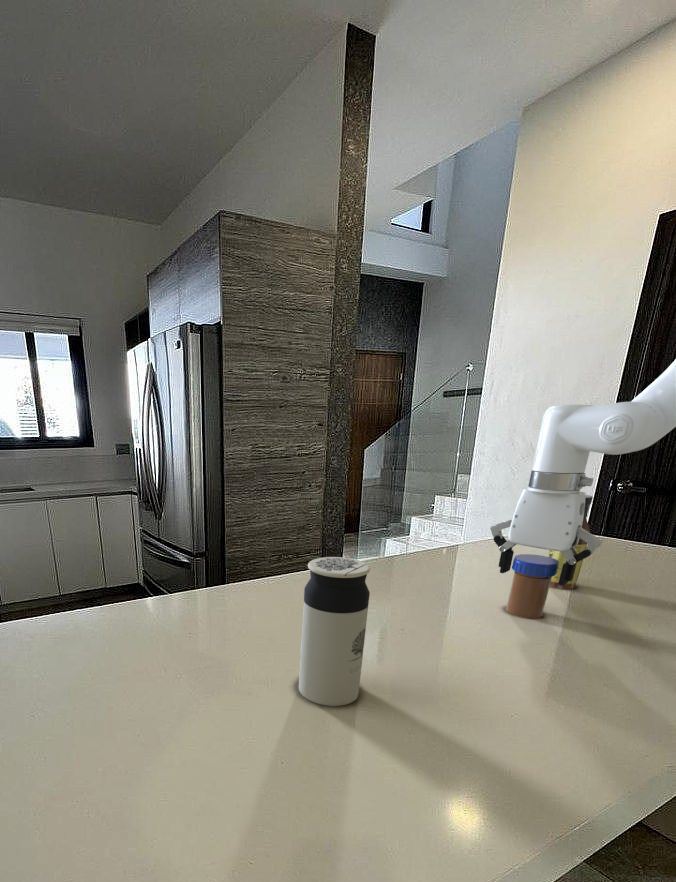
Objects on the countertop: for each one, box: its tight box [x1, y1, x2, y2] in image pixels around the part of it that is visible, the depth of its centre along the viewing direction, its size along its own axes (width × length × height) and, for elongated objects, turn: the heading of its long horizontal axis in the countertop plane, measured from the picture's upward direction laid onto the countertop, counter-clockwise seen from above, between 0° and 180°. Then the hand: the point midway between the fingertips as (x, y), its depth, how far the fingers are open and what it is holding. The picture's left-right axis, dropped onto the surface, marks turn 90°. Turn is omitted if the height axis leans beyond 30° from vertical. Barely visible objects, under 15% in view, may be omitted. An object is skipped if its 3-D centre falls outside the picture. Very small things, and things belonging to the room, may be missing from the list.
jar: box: [505, 571, 552, 619], centre depth 89 cm, size 6×6×10 cm
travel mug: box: [298, 556, 371, 707], centre depth 62 cm, size 8×8×18 cm
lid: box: [511, 553, 559, 577], centre depth 87 cm, size 7×7×2 cm
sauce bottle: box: [547, 494, 594, 590], centre depth 102 cm, size 7×6×20 cm
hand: (532, 577), depth 88 cm, fingers open, 9 cm apart
